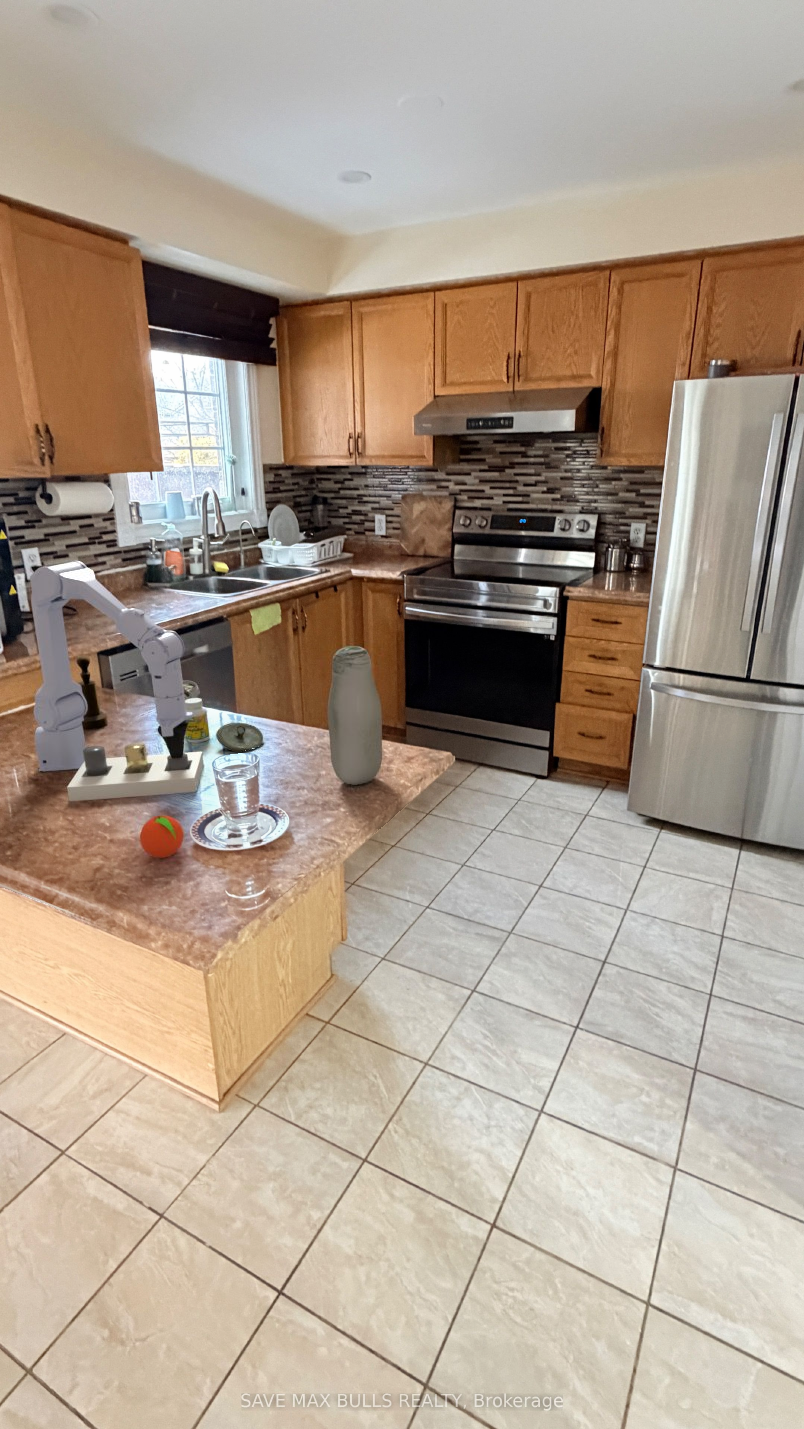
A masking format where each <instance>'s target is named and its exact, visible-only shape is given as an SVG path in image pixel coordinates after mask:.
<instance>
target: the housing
mask: <svg viewBox="0 0 804 1429" xmlns="http://www.w3.org/2000/svg"><path fill="white" fill-rule="evenodd" d="M184 753H185V754H187V756H188V764H189V770H176V771H169V768H168V761H167V757H168V756H169V755H170V753H164V754H163V753H162V754H148V755H147V761H148V770H147V771H145V772H142V773H129V772H128V768H127V762H126V756H122V757H120V756H119V757H106V762H107V768H108V772H107V773H106V774H103V775H100V776H88V775H87V772H86V767H85V761H84V763H83V764H82V766H81V767H80V769H77V771H76V773H75V775H74V776H73V778H72V779H71V781H70V782H69V783H68V786H67V787H66V790H67V794H68V801H69V802H80V801H93V800H94V801H95V800H107V799H108V800H109V799H118V798H131V797H144V796H145V797H146V796H158V795H160V796H161V795H171V794H172V795H173V794H186V793H196V792H197V790H198V786H199V783H200V779H201V775H202V772H203V768H204V766H205V764H204V758H203V757H204V756H203V751H193V752H192V751H191V752H184Z"/></svg>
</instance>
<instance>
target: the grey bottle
mask: <svg viewBox="0 0 804 1429" xmlns="http://www.w3.org/2000/svg"><path fill="white" fill-rule="evenodd" d="M331 667H332V668H331V670H332V673H331V674H332V675H331V685H330V690H329V696H328V702H327V724H328V734H329V749H330V750H329V751H330V760H331V764H332V768H333V771H334V774H335V775H336V777H337V778H338V780H340V781H341V782H343V783H345V784H348V785H350V784H351V785H350V786H352V785H353V786H358V784H359V785H363V783H364V784H367V783H369V782H370V781H372V780H373V779H375V777H376V776H377V775H378V773H379V772H380V768H381V766H382V762H383V729H382V728H383V721H382V718H383V717H382V705H381V700H380V695H379V693H378V690H377V687H376V684H375V679H374V675H373V670H372V660H371V657H370V654H369V652H368V651H367V649H365V648H363V647H361V646H358V645H357V646H355V645H349V646H348V645H347V646H344V647H341V648H339V649H338V650H337V651H336V652H335V653H334V655H333V657H332V663H331Z"/></svg>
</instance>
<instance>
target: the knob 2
mask: <svg viewBox="0 0 804 1429" xmlns="http://www.w3.org/2000/svg"><path fill="white" fill-rule="evenodd" d="M185 753H186V752H184V753H183V757H182V758H171V756H170V755H169V756H168V757H167V761H168V768H169V771H176V770H189V764H188V756H187V754H185Z"/></svg>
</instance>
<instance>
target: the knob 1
mask: <svg viewBox="0 0 804 1429" xmlns="http://www.w3.org/2000/svg"><path fill="white" fill-rule="evenodd" d="M83 755H84V761H85V767H86V772H87V775H88V776H100V775H103V774H106V773H107V772H108V768H107V762H106V758H107V756H106V752H105V747H104V746H102V745H91V746H88V747H86V748H85V749H84V750H83Z"/></svg>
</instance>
